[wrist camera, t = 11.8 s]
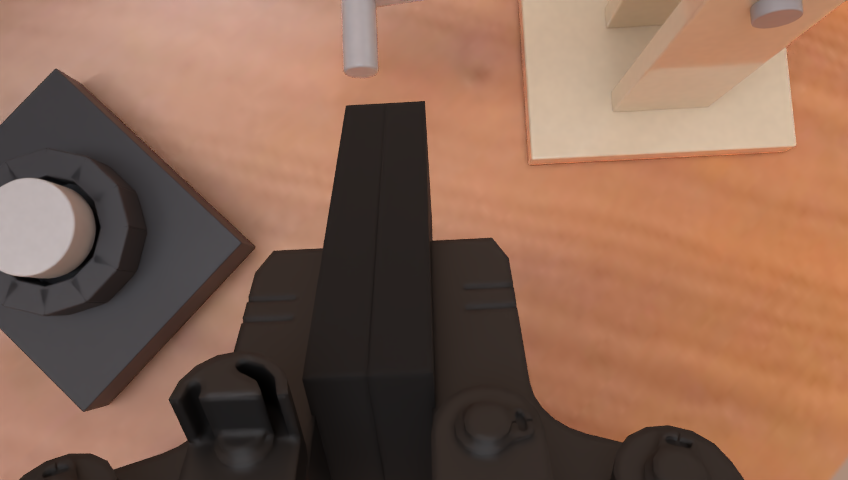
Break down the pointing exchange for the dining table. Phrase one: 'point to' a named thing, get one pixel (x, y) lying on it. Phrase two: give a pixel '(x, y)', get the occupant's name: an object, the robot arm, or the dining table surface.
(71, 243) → the button
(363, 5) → the lever
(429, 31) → the dining table surface
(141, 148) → the panel
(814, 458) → the dining table surface
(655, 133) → the bracket
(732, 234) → the dining table surface
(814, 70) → the dining table surface
